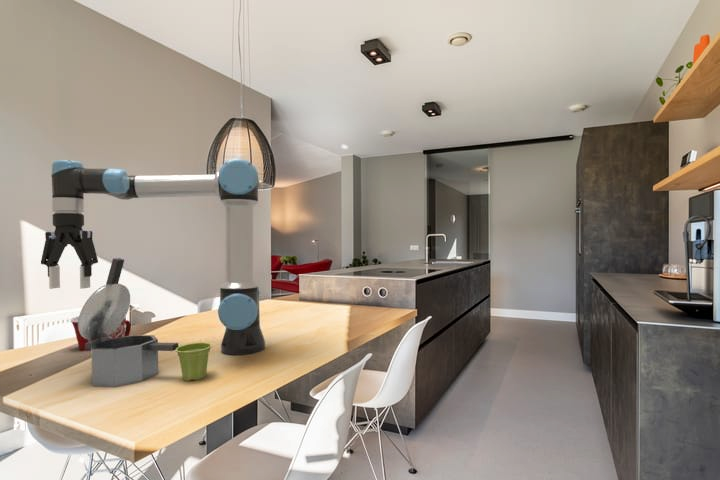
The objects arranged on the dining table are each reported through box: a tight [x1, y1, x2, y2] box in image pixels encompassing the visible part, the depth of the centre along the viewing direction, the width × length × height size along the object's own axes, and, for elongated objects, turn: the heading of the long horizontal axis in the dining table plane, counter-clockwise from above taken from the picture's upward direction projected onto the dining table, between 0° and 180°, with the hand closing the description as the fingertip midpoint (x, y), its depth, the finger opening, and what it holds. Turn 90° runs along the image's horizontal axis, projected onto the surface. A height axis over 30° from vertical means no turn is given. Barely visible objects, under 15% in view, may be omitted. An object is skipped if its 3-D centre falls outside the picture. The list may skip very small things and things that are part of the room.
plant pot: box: [175, 342, 212, 382], centre depth 111 cm, size 9×9×9 cm
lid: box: [78, 257, 131, 344], centre depth 114 cm, size 25×17×3 cm
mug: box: [106, 316, 132, 340], centre depth 132 cm, size 13×9×14 cm
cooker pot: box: [85, 334, 179, 388], centre depth 113 cm, size 28×16×10 cm, turn 81°
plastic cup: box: [69, 315, 91, 351], centre depth 145 cm, size 11×11×12 cm
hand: (69, 288), depth 116 cm, fingers open, 10 cm apart
